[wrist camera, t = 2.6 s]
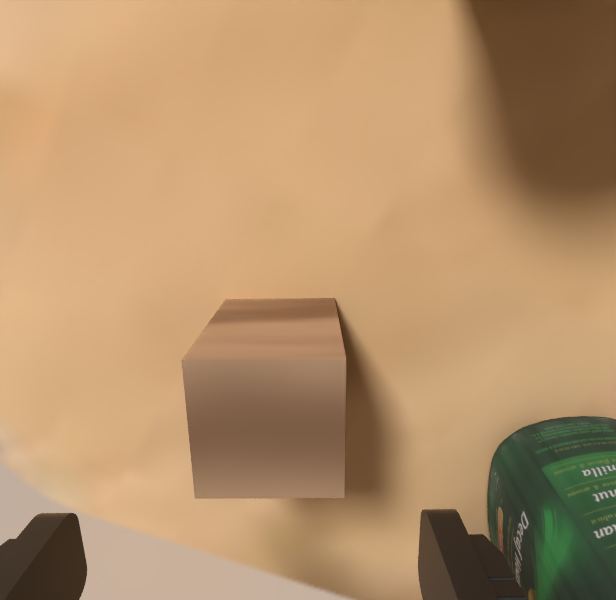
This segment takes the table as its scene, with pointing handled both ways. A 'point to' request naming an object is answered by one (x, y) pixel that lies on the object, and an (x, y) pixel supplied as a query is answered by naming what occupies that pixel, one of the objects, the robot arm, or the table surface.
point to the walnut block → (268, 401)
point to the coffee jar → (557, 508)
